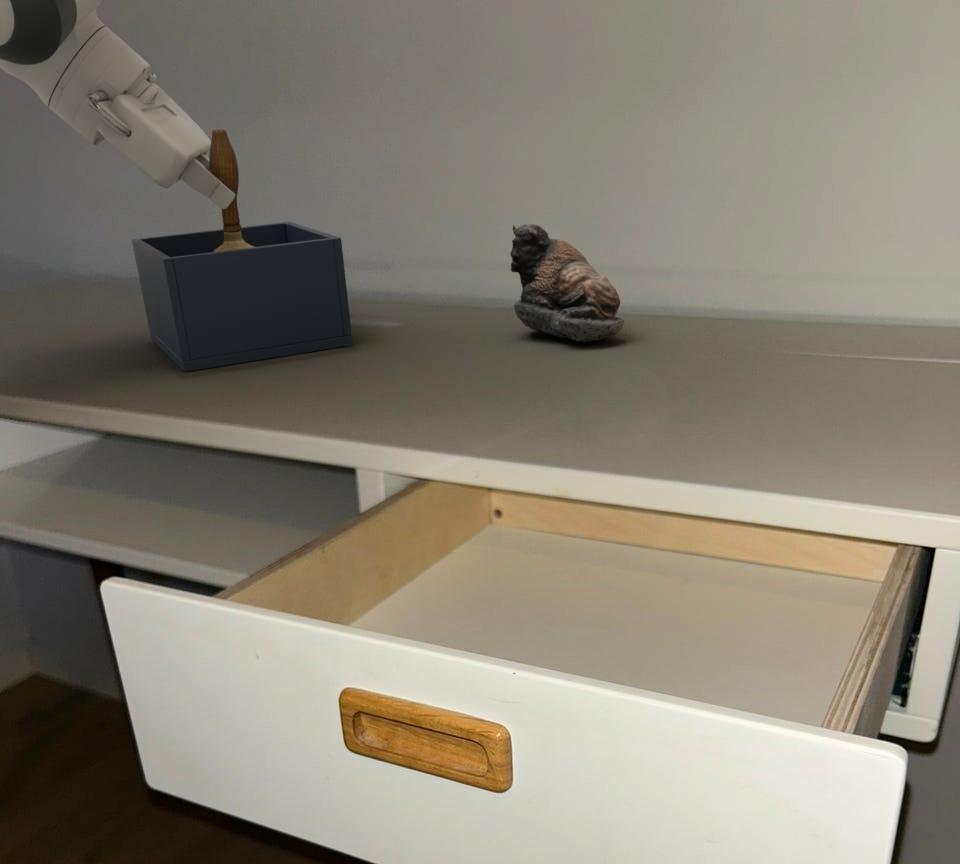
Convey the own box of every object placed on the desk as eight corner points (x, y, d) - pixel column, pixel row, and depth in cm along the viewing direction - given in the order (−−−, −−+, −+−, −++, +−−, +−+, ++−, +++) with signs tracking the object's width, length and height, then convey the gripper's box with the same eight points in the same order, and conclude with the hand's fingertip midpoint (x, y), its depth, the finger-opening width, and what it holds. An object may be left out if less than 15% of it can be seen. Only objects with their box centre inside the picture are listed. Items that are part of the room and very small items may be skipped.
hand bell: (251, 294, 112) (225, 126, 104) (302, 302, 107) (279, 126, 99) (184, 310, 107) (152, 134, 99) (234, 318, 102) (205, 133, 94)
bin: (184, 372, 99) (163, 259, 94) (151, 339, 112) (131, 239, 107) (353, 345, 105) (341, 237, 100) (302, 317, 118) (290, 221, 113)
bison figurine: (637, 338, 101) (638, 224, 96) (590, 353, 97) (590, 236, 92) (540, 324, 108) (537, 219, 104) (493, 338, 104) (488, 229, 99)
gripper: (103, 62, 87) (243, 184, 92) (145, 63, 105) (260, 165, 110) (60, 127, 89) (200, 242, 94) (109, 116, 107) (224, 214, 112)
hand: (233, 200), depth 102 cm, fingers closed on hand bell, 2 cm apart
